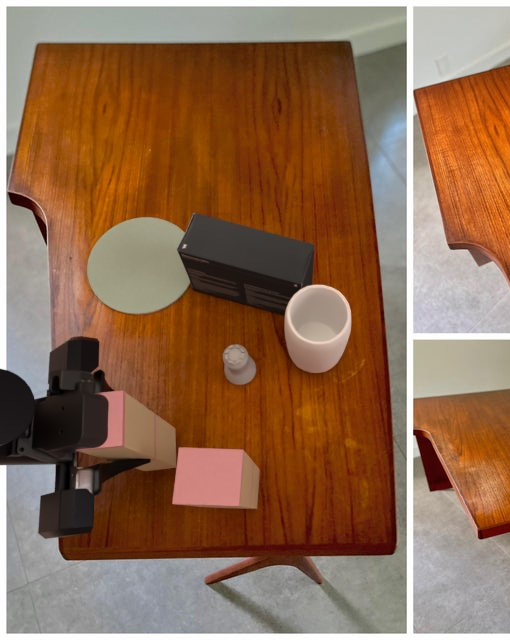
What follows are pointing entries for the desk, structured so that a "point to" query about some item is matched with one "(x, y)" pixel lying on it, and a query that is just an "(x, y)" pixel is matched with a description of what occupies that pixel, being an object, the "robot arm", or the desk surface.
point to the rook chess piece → (238, 365)
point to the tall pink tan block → (216, 478)
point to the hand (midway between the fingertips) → (148, 436)
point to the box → (245, 263)
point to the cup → (317, 327)
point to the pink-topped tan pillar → (136, 434)
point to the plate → (138, 266)
